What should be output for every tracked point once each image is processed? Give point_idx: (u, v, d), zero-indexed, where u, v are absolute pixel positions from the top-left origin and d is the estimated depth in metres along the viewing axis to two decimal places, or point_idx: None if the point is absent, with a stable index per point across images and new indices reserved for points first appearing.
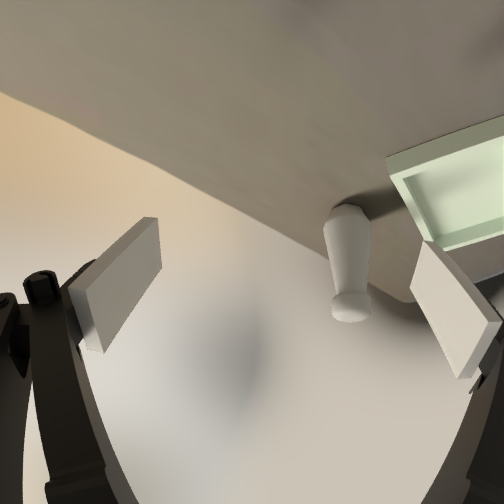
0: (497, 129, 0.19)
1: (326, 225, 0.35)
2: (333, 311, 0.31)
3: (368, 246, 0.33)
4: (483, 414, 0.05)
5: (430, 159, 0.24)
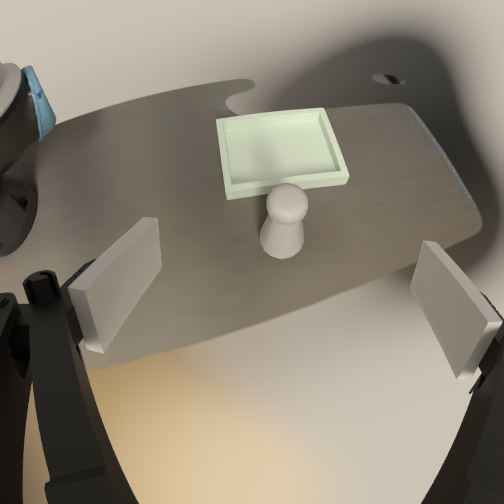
0: None
1: (265, 250, 0.40)
2: (275, 215, 0.31)
3: None
4: (483, 414, 0.05)
5: (222, 167, 0.44)
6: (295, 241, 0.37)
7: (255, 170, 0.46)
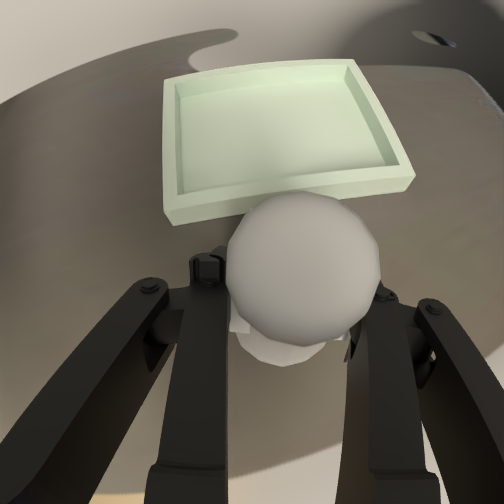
0: None
1: (245, 348, 0.17)
2: (258, 325, 0.08)
3: None
4: (364, 392, 0.06)
5: None
6: (316, 343, 0.14)
7: (230, 164, 0.23)
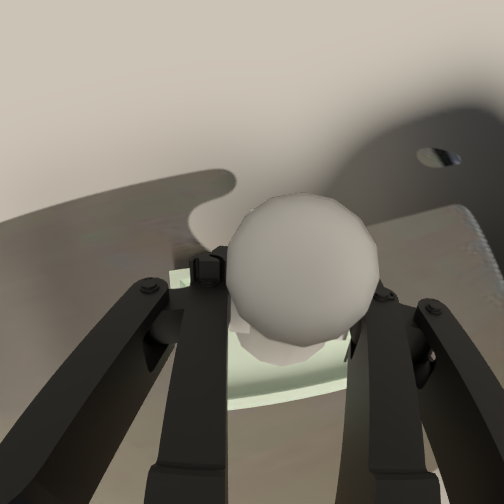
0: None
1: (245, 348, 0.17)
2: (258, 325, 0.08)
3: None
4: (364, 391, 0.06)
5: None
6: (316, 343, 0.14)
7: (233, 365, 0.29)
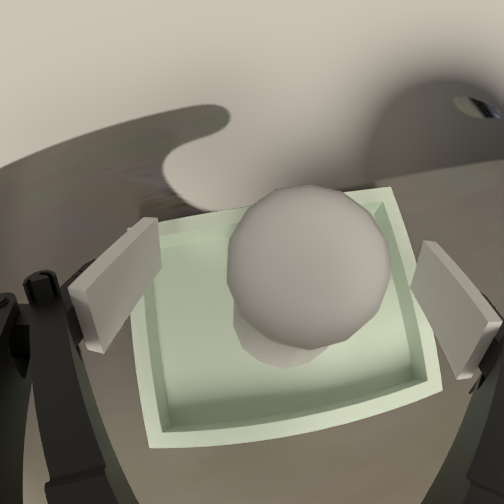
0: None
1: (246, 350, 0.16)
2: (262, 327, 0.07)
3: None
4: (483, 414, 0.05)
5: (138, 378, 0.17)
6: None
7: (222, 374, 0.18)
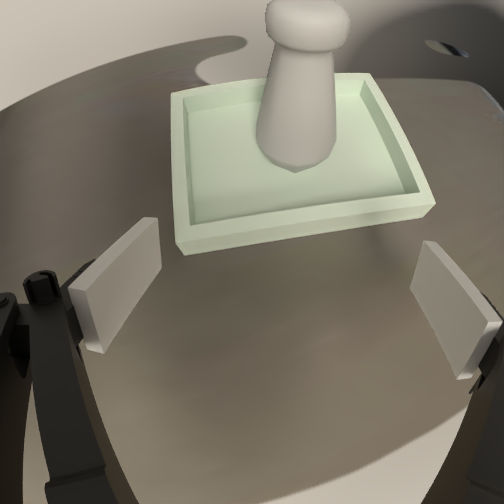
0: None
1: (266, 151, 0.20)
2: (286, 23, 0.11)
3: None
4: (483, 414, 0.05)
5: None
6: (324, 119, 0.17)
7: (244, 189, 0.22)
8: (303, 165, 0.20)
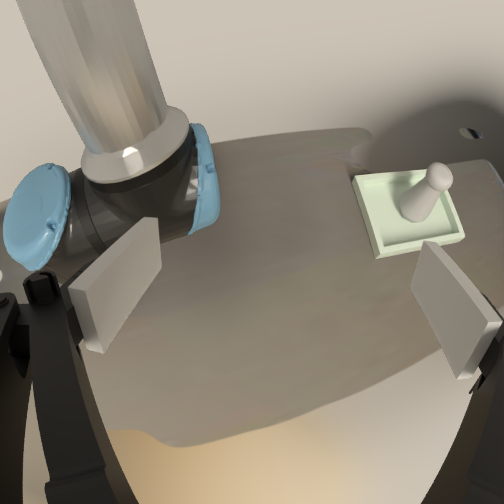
0: (357, 188, 0.50)
1: (406, 215, 0.46)
2: (437, 183, 0.37)
3: None
4: (483, 414, 0.05)
5: (372, 228, 0.46)
6: (432, 207, 0.43)
7: (394, 229, 0.48)
8: (419, 221, 0.46)
